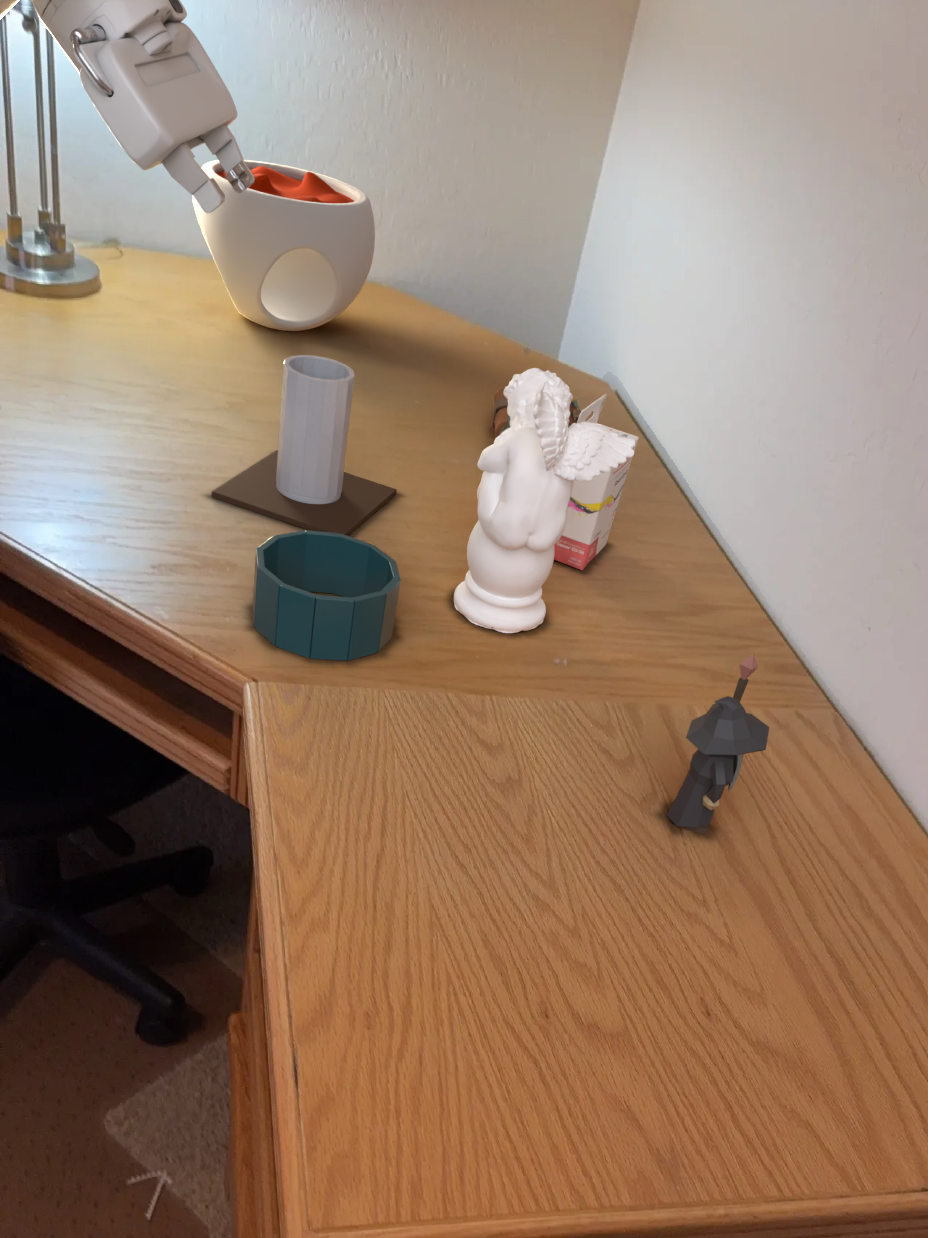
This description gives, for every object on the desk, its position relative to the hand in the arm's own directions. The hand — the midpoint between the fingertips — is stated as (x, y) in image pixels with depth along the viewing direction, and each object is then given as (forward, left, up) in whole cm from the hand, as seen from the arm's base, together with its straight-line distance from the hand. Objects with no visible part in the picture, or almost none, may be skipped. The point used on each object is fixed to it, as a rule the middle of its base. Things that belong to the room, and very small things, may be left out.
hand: (233, 197), depth 89 cm
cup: (+7, +4, -25) cm, 26 cm away
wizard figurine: (+53, -26, -25) cm, 65 cm away
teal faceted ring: (+19, -18, -25) cm, 37 cm away
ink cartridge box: (+34, +12, -25) cm, 44 cm away
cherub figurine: (+33, -6, -25) cm, 42 cm away
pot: (-21, +53, -25) cm, 62 cm away
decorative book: (+23, +37, -25) cm, 51 cm away
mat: (+7, +4, -25) cm, 27 cm away
